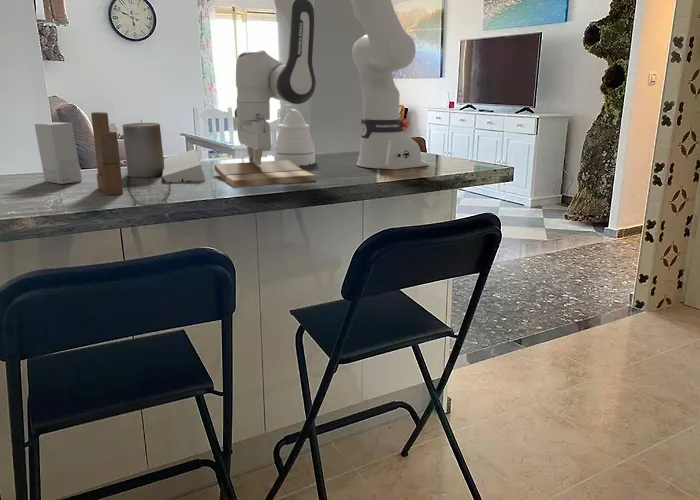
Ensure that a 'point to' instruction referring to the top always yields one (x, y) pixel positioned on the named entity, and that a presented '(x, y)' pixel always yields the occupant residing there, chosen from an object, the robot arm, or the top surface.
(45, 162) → the skincare box
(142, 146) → the pillar candle
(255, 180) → the laid oak board
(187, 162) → the decorative molding
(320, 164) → the top surface
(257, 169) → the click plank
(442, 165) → the top surface
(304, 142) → the honey pot
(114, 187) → the wooden block
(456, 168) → the top surface
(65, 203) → the top surface
